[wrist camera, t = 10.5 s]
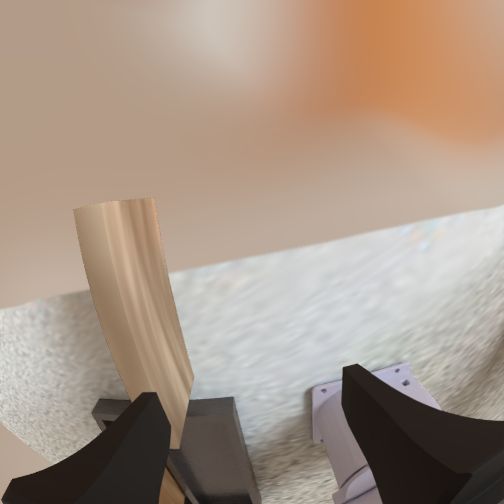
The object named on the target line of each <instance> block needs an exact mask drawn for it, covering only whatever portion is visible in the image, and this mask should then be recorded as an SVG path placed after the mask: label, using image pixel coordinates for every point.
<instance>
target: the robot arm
mask: <svg viewBox="0 0 504 504" xmlns="http://www.w3.org/2000/svg"><path fill="white" fill-rule="evenodd" d="M410 367H411V365H410V363H409V362H403V363H400V364H397V365H394V366H391V367H387V368H384V369H381V370H378V371H374V372H371V373H370V372H369V371H367V370H366V369H365V368H363V367H362V366H360V365H359V364H354V365H350V366H346V367H343V374H342V380H340V381H336V382H332V383H327V384H323V385H318V386H315V387H313V388H312V391H311V395H312V440H313V443H314V444H320V443H324V444H325V447H326V450H327V453H328V456H329V459H330V462H331V465H332V469H333V472H334V475H335V478H336V481H337V484H338V487H339V491H337V492H335V493H334V494H332V496H333V500H334V503H335V504H504V421H492V420H482V419H474V418H469V417H464V416H459V415H456V414H452V413H448V412H445V411H442V409H441V408H440V406H439V405H438V403H437V402H436V401H435V400H434V399H433V398H432V396H431V395H430V394H429V393H428V392H427V391H426V389H425V388H424V387H423V386H422V385H421V384H420V383H419V381H418V380H417V379H416V378H415V377H414V376H413V375H412V373H411V372H410ZM396 369H397V370H396ZM395 370H396V371H395ZM322 389H325V390H323V391H321V390H322ZM170 440H171V424H170V422H169V420H168V418H167V415H166V413H165V411H164V409H163V406H162V404H161V402H160V399H159V397H158V395H157V392H142V393H141V394H140V395H139V396H138V397H137V398H136V399H135V400H134V401H133V402H132V403H131V404H130V405H129V406H128V407H127V408H126V409H125V411H124V412H123V413H122V414H121V415H120V416H119V417H118V418H117V419H116V420H115V421H114V422H113V423H112V424H111V425H109V426H108V427H107V428H106V429H105V430H104V431H103V432H102V433H101V434H100V435H98V436H97V437H96V438H95V439H94V440H93V441H91V442H90V443H89V444H87V445H86V446H85V447H83V448H82V449H80V450H79V451H78V452H76V453H75V454H73V455H71V456H69V457H68V458H66V459H64V460H62V461H61V462H59V463H57V464H55V465H53V466H51V467H48V468H46V469H44V470H41V471H39V472H36V473H33V474H30V475H26V476H22V477H18V478H14V479H12V480H11V482H10V484H9V486H8V487H7V489H6V492H5V493H4V495H3V497H2V499H1V500H2V502H3V504H159V496H160V490H161V485H162V481H163V476H164V472H165V467H166V463H167V458H168V454H169V449H170Z"/></svg>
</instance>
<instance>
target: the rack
mask: <svg viewBox="0 0 504 504" xmlns="http://www.w3.org/2000/svg"><path fill="white" fill-rule="evenodd" d="M131 403H132V401H131V400H110V399H99V400H98V402H97V404H96V406H95V407H94V409H93V411H92V412H91V413H92V415H93V417H94V419H95V420H96V422H97V424H98V425H99V427H100V429H101V430H102V432H103V431H104V430H105V429H106V428H107V427H108V426H109V425H111V424H112V423H113V422H114V421H115V420H116V419H117V418H118V417H119V416H120V415H121V414H122V413H123V412H124V411H125V409H126V408H127V407H128V406H129V405H130V404H131ZM166 465H167V466H168V468H169V470H170V471H171V473H172V474H173V476H174V477H175V479H176V480H177V482H178V483H179V485H180V486H181V488H182V489H183V491H184V492H185V499H184V504H262V502H261V496H260V493H259V490H258V486H257V483H256V480H255V476H254V473H253V469H252V466H251V462H250V459H249V455H248V452H247V448H246V444H245V440H244V437H243V433H242V429H241V425H240V421H239V417H238V414H237V410H236V406H235V401H234V397H226V398H214V399H200V400H189V403H188V408H187V412H186V417H185V422H184V427H183V432H182V437H181V442H180V447H179V449H169V454H168V458H167V463H166Z"/></svg>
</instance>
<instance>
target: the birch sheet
mask: <svg viewBox="0 0 504 504" xmlns="http://www.w3.org/2000/svg"><path fill="white" fill-rule="evenodd" d="M74 216H75V222H76V228H77V234H78V239H79V244H80V249H81V253H82V258H83V262H84V267H85V271H86V275H87V279H88V282H89V286H90V290H91V294H92V297H93V301H94V304H95V307H96V311H97V314H98V317H99V320H100V323H101V326H102V329H103V332H104V335H105V338H106V341H107V343H108V346H109V349H110V352H111V354H112V357H113V359H114V362H115V364H116V367H117V369H118V372H119V374H120V377H121V379H122V381H123V384H124V386H125V388H126V390H127V393H128V395H129V397H130V399H131V401H132V402H133V401H134V400H135V399H136V398H137V397H138V396H139V395H140V394H141V393H142V392H157V395H158V397H159V399H160V402H161V404H162V406H163V409H164V411H165V413H166V415H167V418H168V420H169V422H170V424H171V440H170V449H179V447H180V442H181V437H182V432H183V427H184V422H185V417H186V412H187V408H188V403H189V398H190V393H191V389H192V384H193V380H194V374H193V370H192V367H191V364H190V360H189V357H188V353H187V349H186V346H185V342H184V338H183V335H182V331H181V327H180V323H179V319H178V315H177V311H176V307H175V302H174V298H173V294H172V289H171V285H170V280H169V276H168V269H167V264H166V259H165V254H164V249H163V244H162V238H161V233H160V227H159V221H158V215H157V209H156V203H155V198H146V199H133V200H122V201H111V202H101V203H97V204H93V205H90V206H85V207H82V208H78V209H74Z"/></svg>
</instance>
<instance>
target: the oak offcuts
mask: <svg viewBox="0 0 504 504" xmlns="http://www.w3.org/2000/svg"><path fill="white" fill-rule="evenodd" d="M184 499H185V492H184V491H183V489H182V488H181V486H180V485H179V483H178V482H177V480H176V479H175V477H174V476H173V474H172V473H171V471H170V470H169V468H168V466H167V465H166V467H165V472H164V476H163V481H162V485H161V490H160V496H159V504H184Z"/></svg>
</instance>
